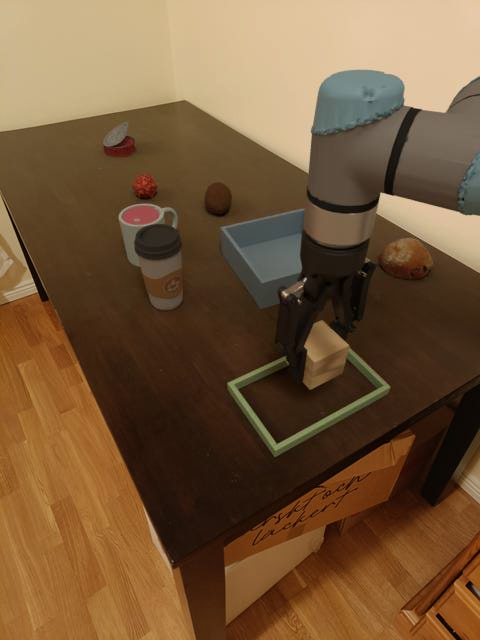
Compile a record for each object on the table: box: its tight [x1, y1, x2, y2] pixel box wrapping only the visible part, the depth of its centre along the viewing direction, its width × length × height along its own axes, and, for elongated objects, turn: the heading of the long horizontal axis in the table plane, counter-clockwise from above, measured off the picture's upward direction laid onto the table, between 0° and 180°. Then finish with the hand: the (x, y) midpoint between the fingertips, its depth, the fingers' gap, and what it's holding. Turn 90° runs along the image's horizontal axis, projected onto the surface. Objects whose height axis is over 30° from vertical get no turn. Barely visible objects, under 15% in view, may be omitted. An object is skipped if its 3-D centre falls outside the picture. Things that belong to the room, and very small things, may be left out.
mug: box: [118, 203, 179, 268], centre depth 93 cm, size 14×9×10 cm
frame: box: [227, 346, 392, 458], centre depth 67 cm, size 22×14×2 cm, turn 120°
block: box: [286, 319, 350, 391], centre depth 62 cm, size 6×6×6 cm
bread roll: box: [379, 237, 435, 281], centre depth 90 cm, size 10×10×8 cm
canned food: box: [102, 121, 137, 158], centre depth 134 cm, size 11×10×10 cm
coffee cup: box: [134, 223, 184, 312], centre depth 79 cm, size 8×8×15 cm
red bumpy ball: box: [131, 174, 159, 199], centre depth 113 cm, size 6×7×8 cm
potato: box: [204, 181, 233, 215], centre depth 107 cm, size 7×10×7 cm
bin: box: [219, 207, 305, 310], centre depth 90 cm, size 21×21×6 cm
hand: (313, 366), depth 63 cm, fingers closed on block, 6 cm apart
